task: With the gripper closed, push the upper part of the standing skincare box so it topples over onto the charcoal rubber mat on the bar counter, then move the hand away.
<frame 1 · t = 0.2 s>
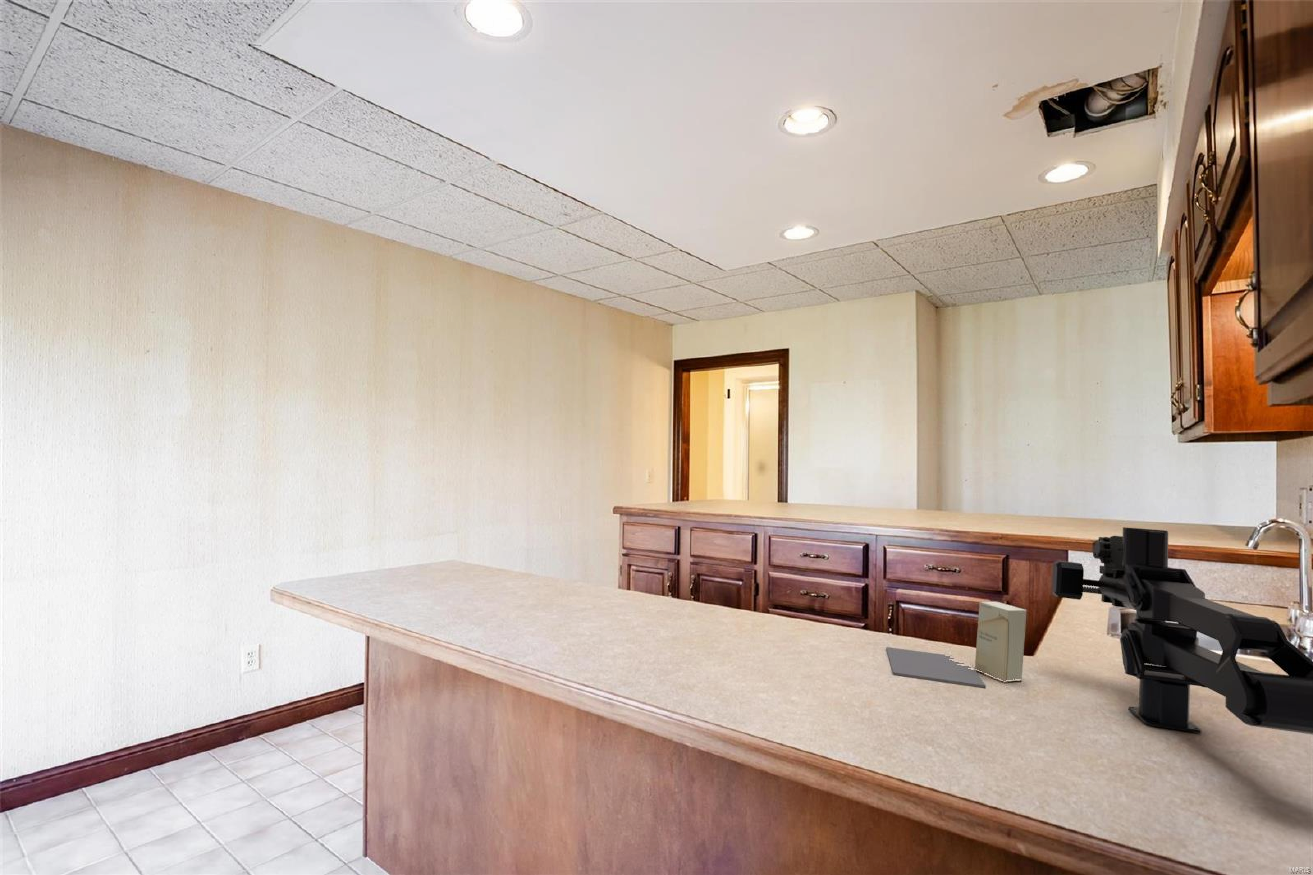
hand: (1095, 579, 117), 16 cm above the counter, tool horizontal, fingers open, 9 cm apart
mat: (931, 666, 111), on the counter
skincare box: (998, 677, 108), on the counter
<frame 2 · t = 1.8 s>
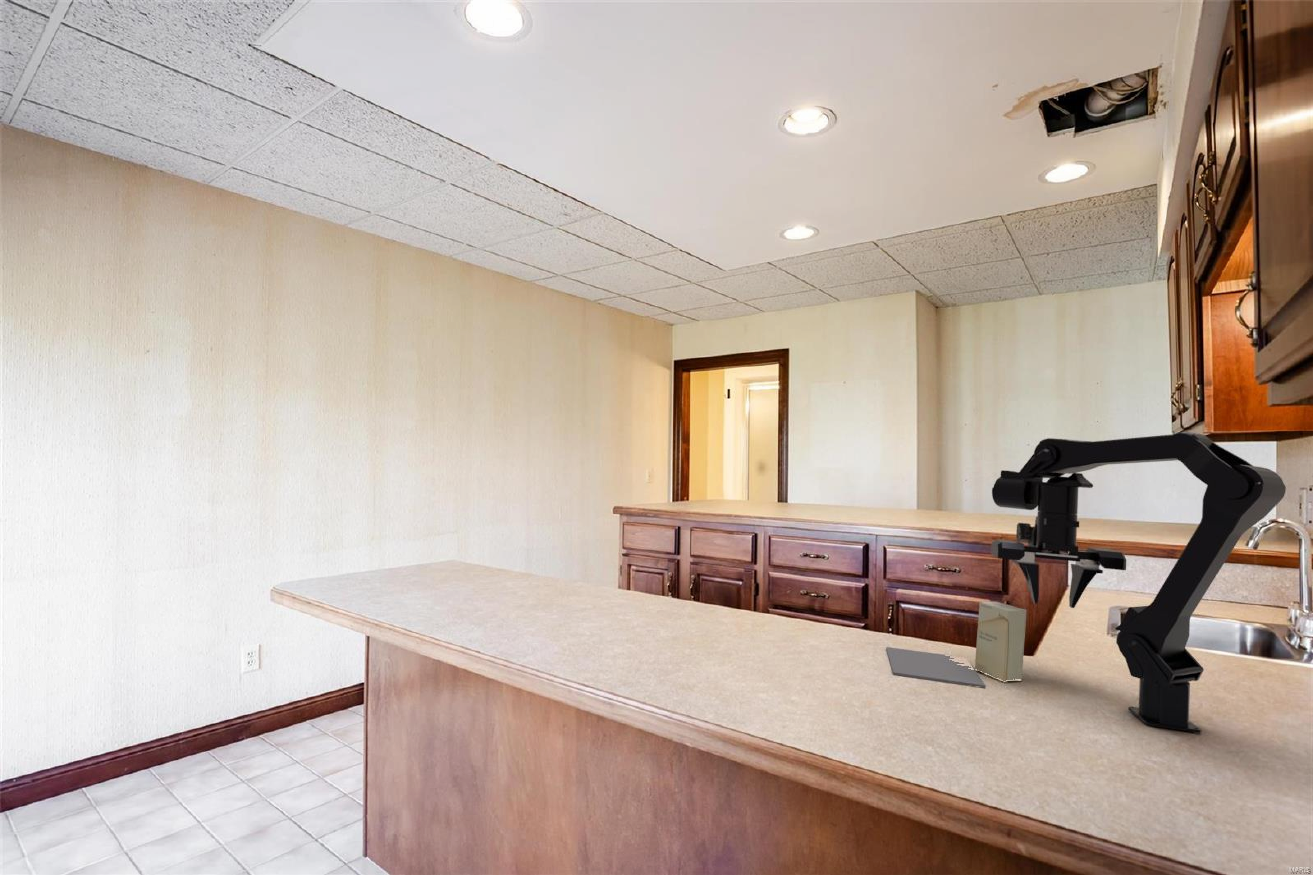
hand: (1053, 605, 107), 13 cm above the counter, tool pointing down, fingers open, 5 cm apart
nothing on the counter moved.
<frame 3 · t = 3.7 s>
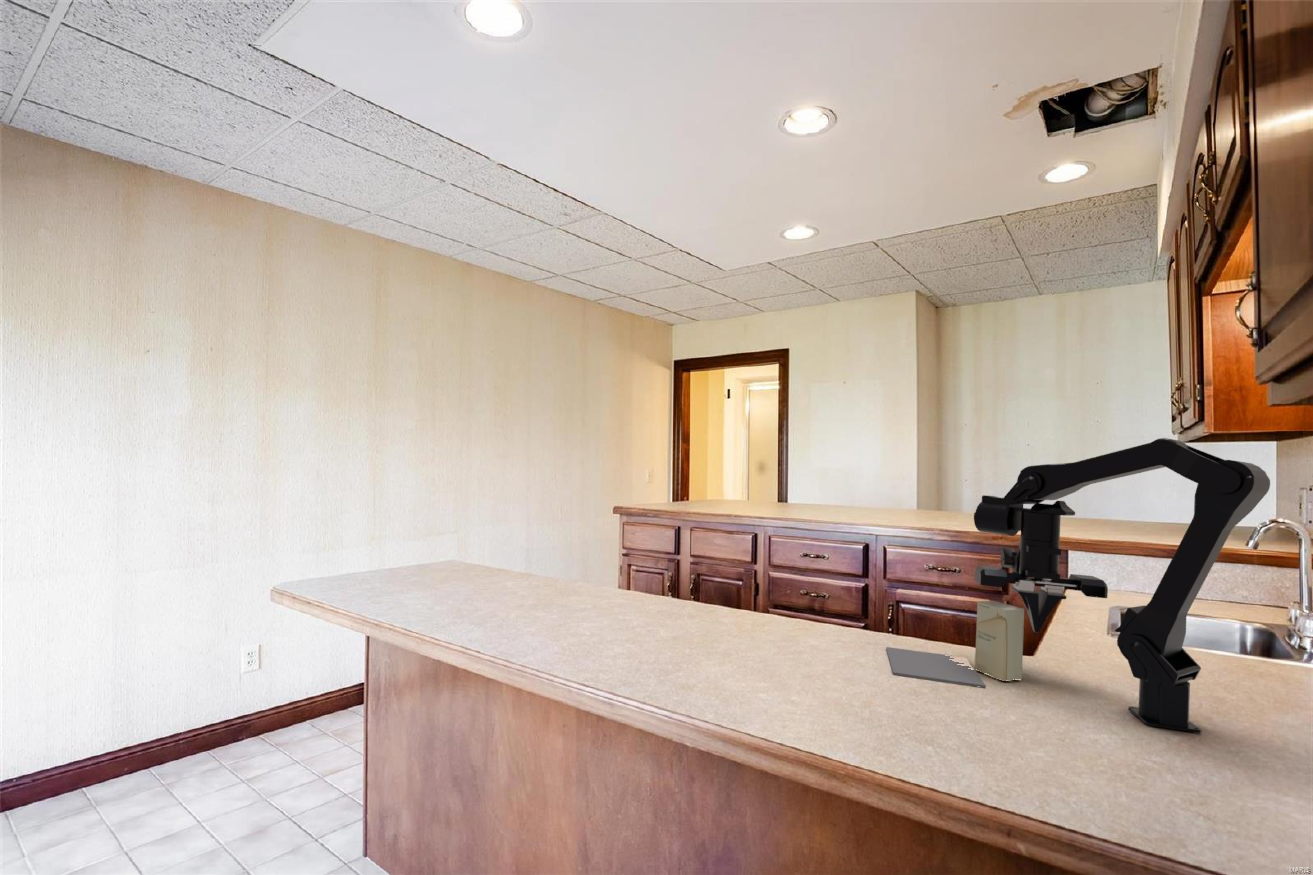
hand: (1036, 632, 107), 8 cm above the counter, tool pointing down, fingers closed
skincare box: (998, 677, 108), on the counter, touching gripper
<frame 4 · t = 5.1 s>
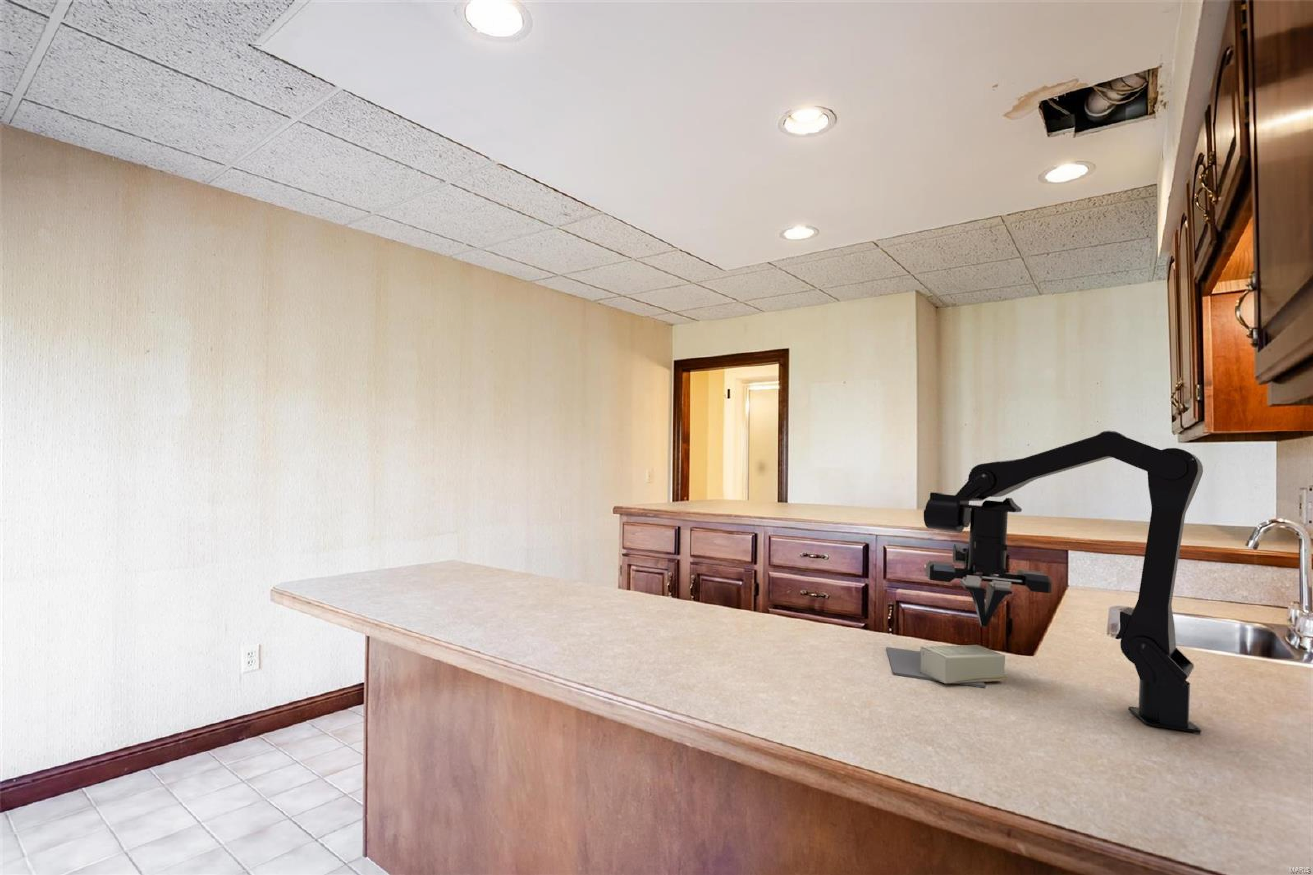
hand: (983, 626, 110), 8 cm above the counter, tool pointing down, fingers closed
skincare box: (992, 661, 108), point 3 cm above the counter, touching mat
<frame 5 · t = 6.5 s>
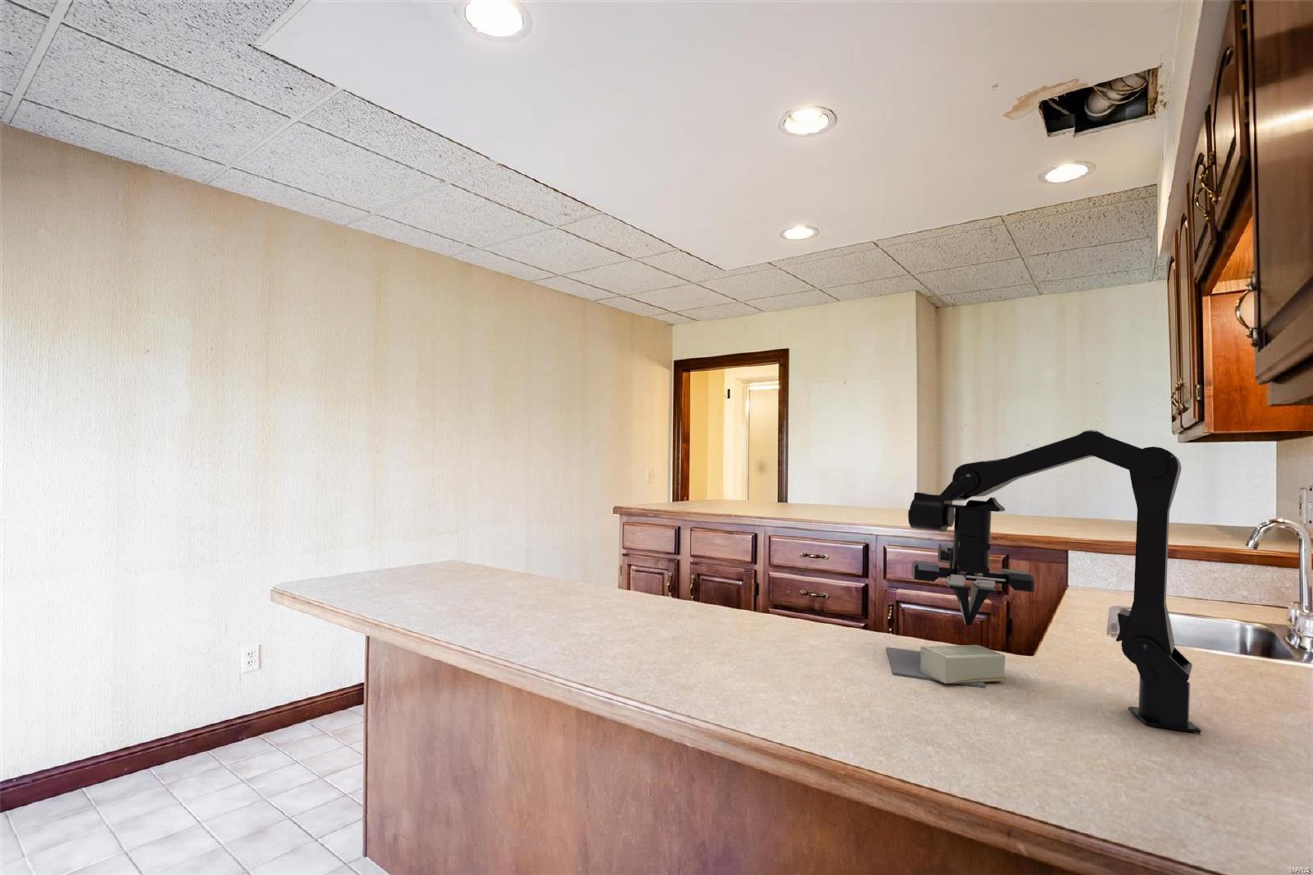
hand: (967, 625, 110), 8 cm above the counter, tool pointing down, fingers closed
nothing on the counter moved.
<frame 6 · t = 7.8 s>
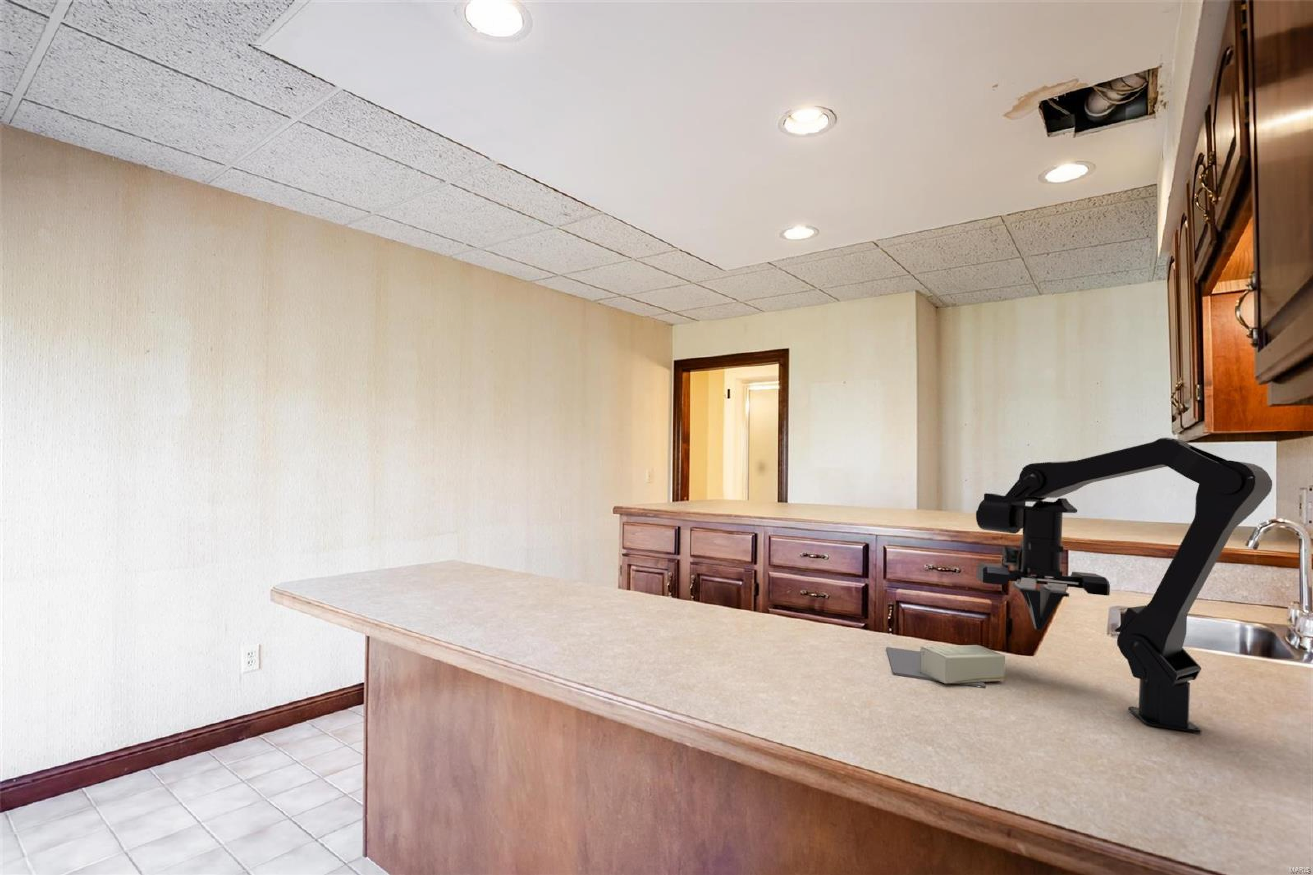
hand: (1038, 629, 107), 9 cm above the counter, tool pointing down, fingers closed
nothing on the counter moved.
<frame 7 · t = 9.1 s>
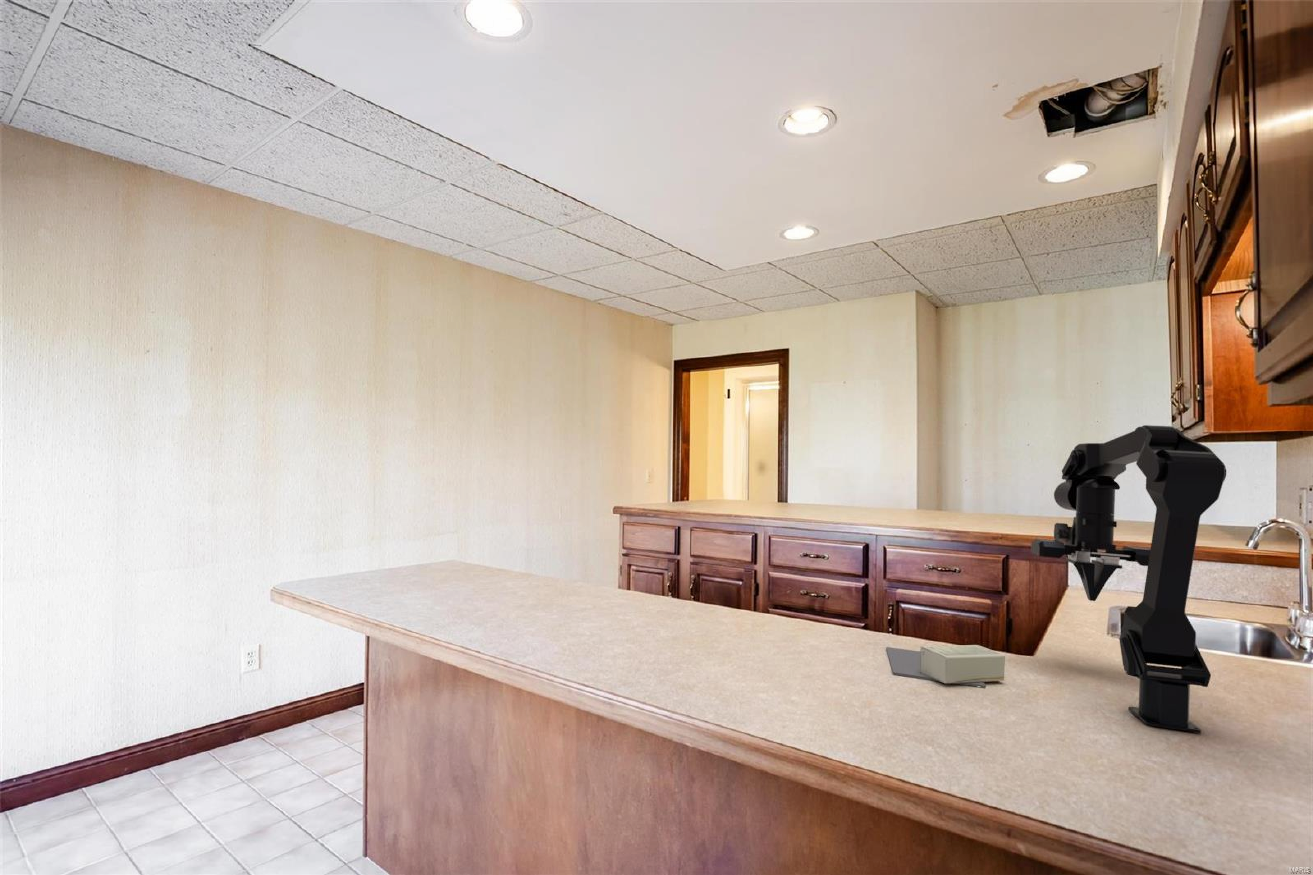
hand: (1091, 600, 114), 13 cm above the counter, tool pointing down, fingers closed
nothing on the counter moved.
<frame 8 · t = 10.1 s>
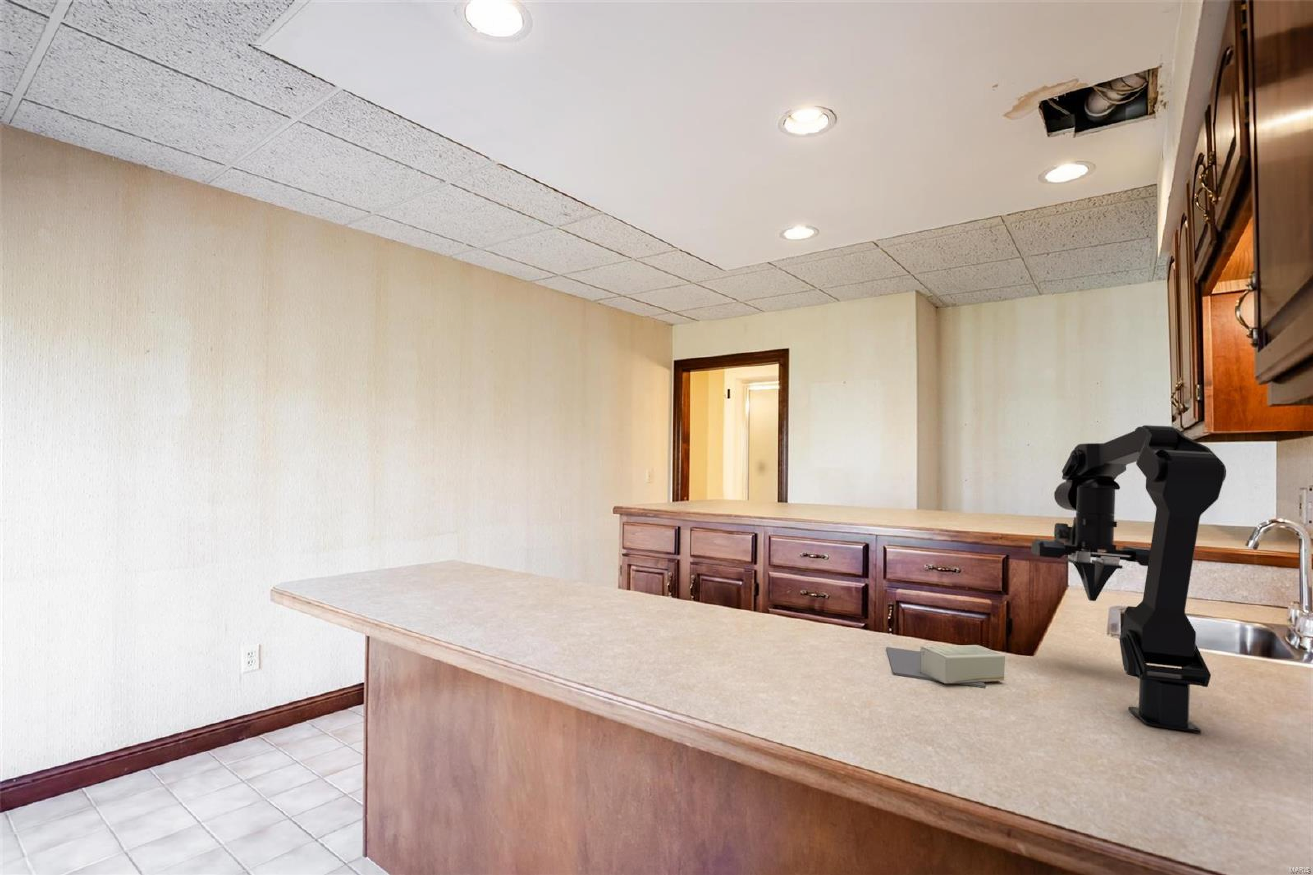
hand: (1091, 600, 114), 13 cm above the counter, tool pointing down, fingers closed
nothing on the counter moved.
at the end: skincare box tilted 91°; skincare box 9.4 cm from the mat (horizontally); the gripper is holding nothing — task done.
